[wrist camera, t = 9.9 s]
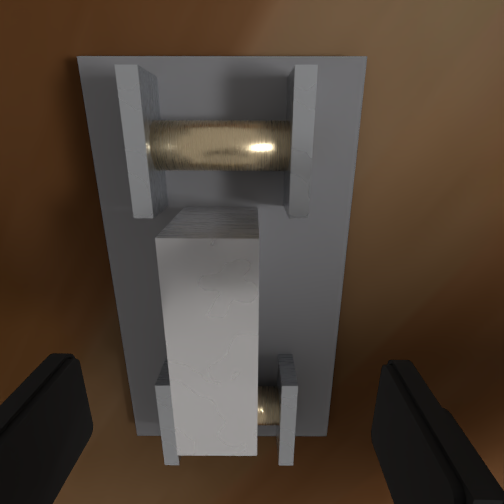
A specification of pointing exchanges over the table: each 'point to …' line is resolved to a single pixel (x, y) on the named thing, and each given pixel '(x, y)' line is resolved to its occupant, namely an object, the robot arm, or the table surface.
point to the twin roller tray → (220, 159)
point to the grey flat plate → (235, 195)
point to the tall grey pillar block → (212, 327)
